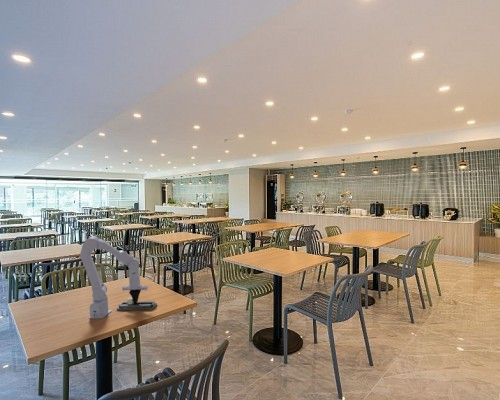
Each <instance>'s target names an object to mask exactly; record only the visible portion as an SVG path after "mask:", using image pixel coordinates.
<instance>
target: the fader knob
mask: <svg viewBox="0 0 500 400" xmlns="http://www.w3.org/2000/svg"><path fill="white" fill-rule="evenodd" d="M126 300H127V301H126V302H127V304H129V305H134V301H133V298H132V296H130V297H128V298H127V299H126Z"/></svg>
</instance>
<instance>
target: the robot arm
mask: <svg viewBox="0 0 500 400" xmlns="http://www.w3.org/2000/svg"><path fill="white" fill-rule="evenodd" d="M95 249H96V250H104V251H106V252H108V253H110V254H112V256H115V260H117V261H119V262H120V263H121V264H123V265H125V266H127V267H128V280H129V283H128V284H129V285H124V286H122V287H121V289H122V291H123V292H124V291H129V292H128V293H129V295H130V297H132V298H133V301H134V303H137V302H138V301H139V296H140V293H141V292H142V291H147V290H148V286H149V285H142V284H141V279H140V278H141V277H140V276H141V275H140V262H139V261H140V260H139V259H138V258H137V257H135V256H134V255H133V256H132V255H130V254H128V252H127V250H125V251H124V250H118V249H116V248H115V247H114V246H112V245H111V244H109V243H108V242H107V241H105V240H104V239H102V238H99V237H98V236H96V235H91V236H90V237H88V238H87V239H86V240H85V241H84V242H83V243H82V247H81V250H80V253H79V256H80V260H81V263H82V264H83V266H84V267H83V268H84V270H85V272H86V274H87V277H88V280H89V282H90V284H91V291H92V302H91V304H90V305H89V317H88V319H103V318H105V317H106V316H107V315H109V314H110V313H111V312H113V310H112V309H109V299H108V297H109V296H108V295H107V294H106V293H107V292H108V287H107V285H106V284H104V281H103V280H101V277H100V275H99V272H98V269H97V267H96V263H95V262H94V259H93V257H92V254H93V252H94V250H95Z"/></svg>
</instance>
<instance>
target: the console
mask: <svg viewBox="0 0 500 400" xmlns="http://www.w3.org/2000/svg"><path fill="white" fill-rule="evenodd" d="M157 306H158V303H157V302H156V301H154V300H153V301H151V300H149V301H145V300H144V301H143V300H142V301H140V300H138V302H137V303H134V305H129V304H127V301H123V302H120V303H119V304H118V307H117V308H116V311H124V312H125V311H153V310H154V309H155V308H156V307H157Z"/></svg>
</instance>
